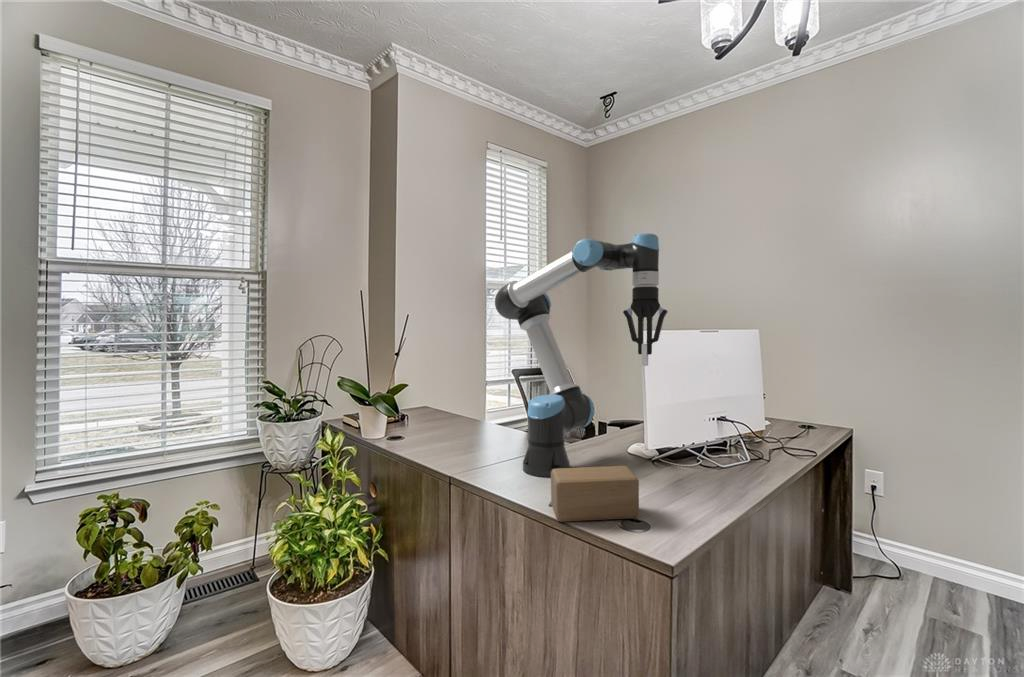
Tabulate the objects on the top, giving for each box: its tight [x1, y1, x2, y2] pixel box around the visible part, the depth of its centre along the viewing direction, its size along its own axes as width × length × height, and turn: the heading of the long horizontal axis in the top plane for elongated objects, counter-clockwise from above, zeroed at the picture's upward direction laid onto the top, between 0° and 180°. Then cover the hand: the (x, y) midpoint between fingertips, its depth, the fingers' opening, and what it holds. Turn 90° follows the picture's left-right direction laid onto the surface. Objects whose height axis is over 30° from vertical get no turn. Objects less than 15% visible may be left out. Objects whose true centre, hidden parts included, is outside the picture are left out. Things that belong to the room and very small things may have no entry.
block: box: [550, 465, 640, 523], centre depth 118 cm, size 10×10×20 cm
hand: (644, 365), depth 144 cm, fingers closed
